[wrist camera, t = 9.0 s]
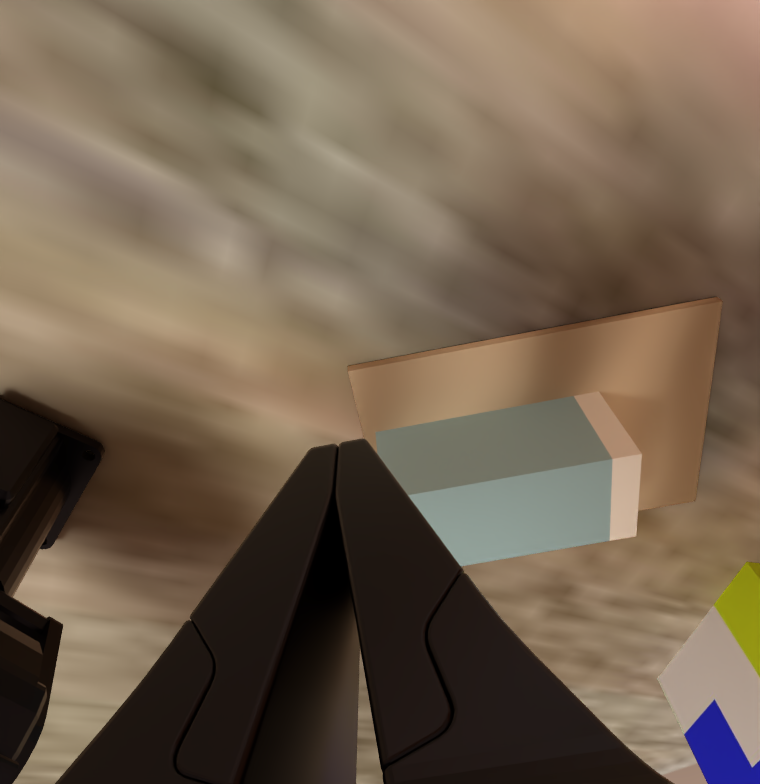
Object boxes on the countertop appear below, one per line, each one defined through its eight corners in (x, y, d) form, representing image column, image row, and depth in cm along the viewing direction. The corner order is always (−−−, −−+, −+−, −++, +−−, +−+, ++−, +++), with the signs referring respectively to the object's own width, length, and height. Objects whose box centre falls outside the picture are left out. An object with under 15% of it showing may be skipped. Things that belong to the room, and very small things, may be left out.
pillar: (636, 536, 23) (400, 576, 23) (597, 468, 26) (392, 504, 26) (642, 453, 21) (381, 499, 21) (598, 391, 24) (375, 432, 24)
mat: (717, 296, 22) (722, 301, 22) (690, 495, 28) (695, 500, 27) (347, 366, 23) (347, 371, 23) (391, 547, 28) (392, 553, 28)
